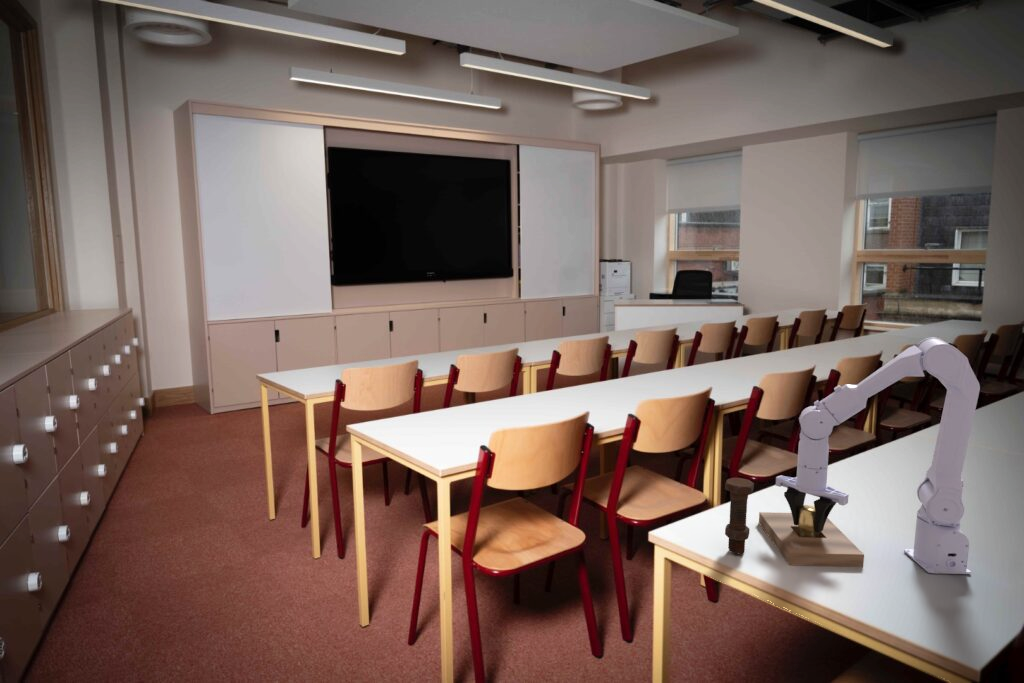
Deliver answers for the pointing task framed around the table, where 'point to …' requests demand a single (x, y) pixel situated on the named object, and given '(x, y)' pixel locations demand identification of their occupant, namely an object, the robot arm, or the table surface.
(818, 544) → the slot block
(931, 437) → the table surface
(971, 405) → the robot arm
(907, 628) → the table surface
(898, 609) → the table surface
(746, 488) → the bolt
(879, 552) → the table surface
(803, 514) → the pin
